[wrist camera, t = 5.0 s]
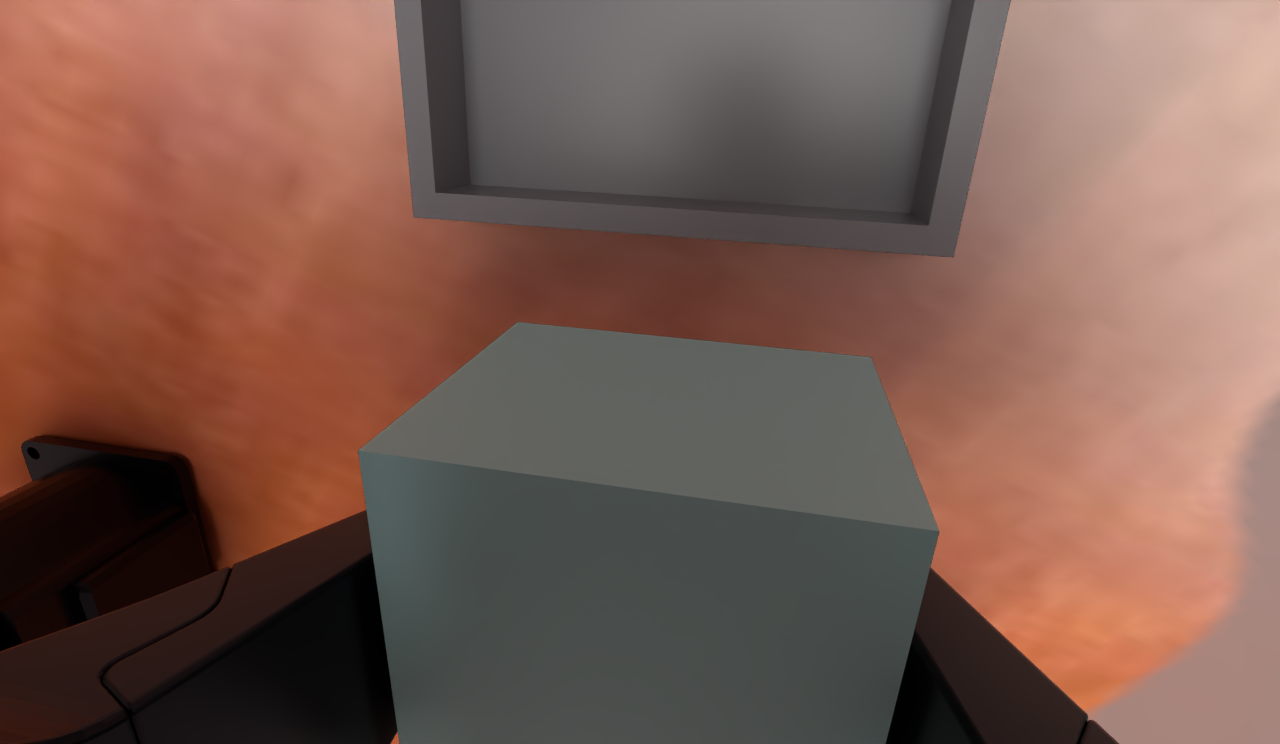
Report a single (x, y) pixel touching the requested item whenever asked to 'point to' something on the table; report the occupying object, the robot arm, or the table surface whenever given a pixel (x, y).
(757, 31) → the tray
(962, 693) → the robot arm
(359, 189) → the table surface
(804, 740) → the stub
